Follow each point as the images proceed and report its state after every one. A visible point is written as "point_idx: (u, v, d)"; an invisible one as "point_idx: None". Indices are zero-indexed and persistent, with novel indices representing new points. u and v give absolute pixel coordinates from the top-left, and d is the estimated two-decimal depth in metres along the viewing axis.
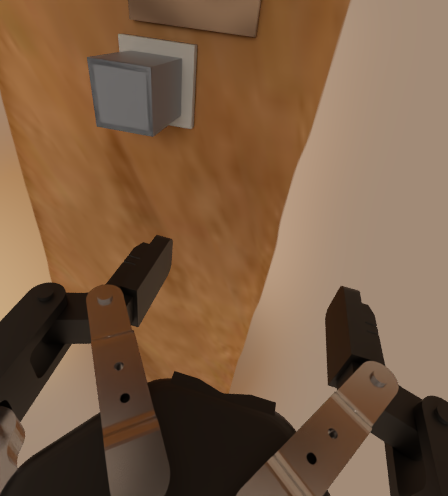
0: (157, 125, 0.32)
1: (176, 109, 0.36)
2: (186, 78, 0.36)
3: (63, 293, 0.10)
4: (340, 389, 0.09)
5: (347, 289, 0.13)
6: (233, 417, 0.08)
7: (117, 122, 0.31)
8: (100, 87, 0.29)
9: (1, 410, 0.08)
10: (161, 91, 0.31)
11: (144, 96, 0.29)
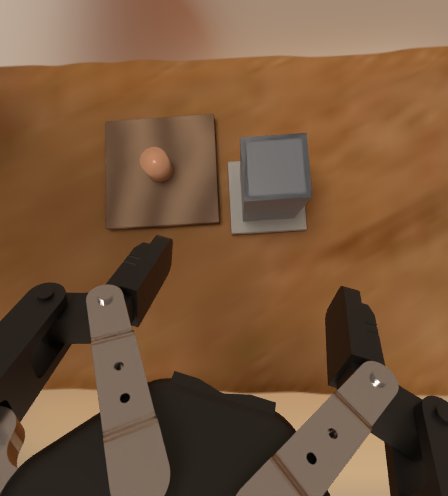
0: None
1: None
2: None
3: (63, 293, 0.10)
4: (340, 389, 0.09)
5: (347, 289, 0.13)
6: (233, 417, 0.08)
7: (301, 172, 0.28)
8: (269, 189, 0.28)
9: (1, 410, 0.08)
10: None
11: (267, 143, 0.29)
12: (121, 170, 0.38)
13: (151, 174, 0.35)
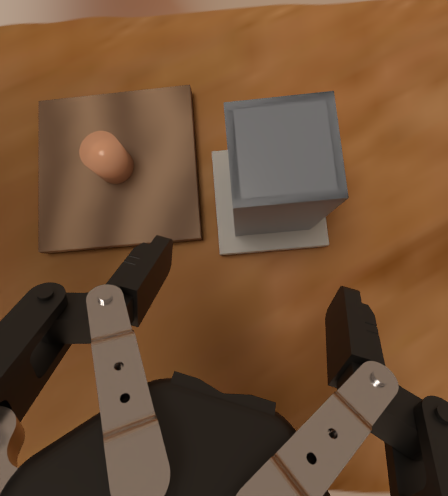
0: None
1: None
2: None
3: (63, 293, 0.10)
4: (340, 389, 0.09)
5: (347, 289, 0.13)
6: (233, 417, 0.08)
7: (328, 156, 0.17)
8: (275, 186, 0.17)
9: (1, 410, 0.08)
10: None
11: (269, 109, 0.17)
12: (60, 168, 0.27)
13: (97, 171, 0.24)
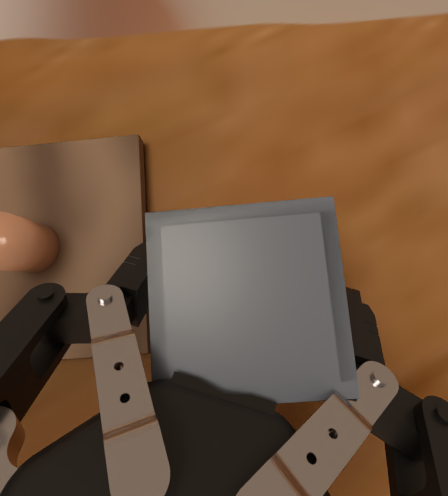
0: None
1: None
2: None
3: (63, 293, 0.10)
4: None
5: (347, 289, 0.13)
6: (233, 417, 0.08)
7: (323, 317, 0.09)
8: (228, 372, 0.09)
9: (1, 410, 0.08)
10: None
11: (222, 228, 0.10)
12: None
13: None
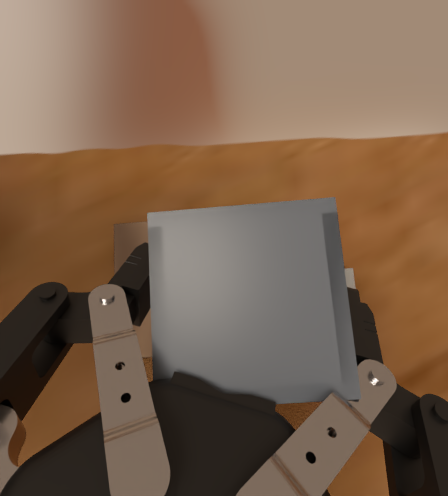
0: None
1: None
2: None
3: (65, 293, 0.10)
4: None
5: None
6: (233, 417, 0.08)
7: (325, 318, 0.09)
8: (230, 372, 0.09)
9: (2, 409, 0.08)
10: None
11: (224, 228, 0.10)
12: None
13: None
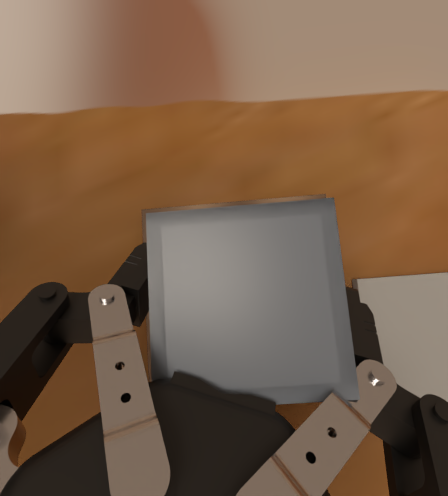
0: None
1: None
2: (406, 287, 0.22)
3: (65, 293, 0.10)
4: None
5: (346, 288, 0.13)
6: (233, 417, 0.08)
7: (323, 318, 0.09)
8: (228, 372, 0.09)
9: (2, 409, 0.08)
10: None
11: (223, 228, 0.10)
12: None
13: None
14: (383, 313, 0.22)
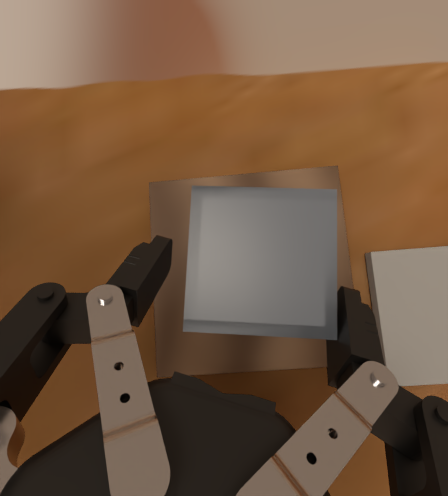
0: None
1: None
2: (422, 260, 0.21)
3: (63, 293, 0.10)
4: (340, 389, 0.09)
5: (347, 289, 0.13)
6: (233, 417, 0.08)
7: (317, 278, 0.12)
8: (242, 310, 0.12)
9: (1, 410, 0.08)
10: None
11: (249, 203, 0.13)
12: (180, 269, 0.22)
13: None
14: (398, 286, 0.21)
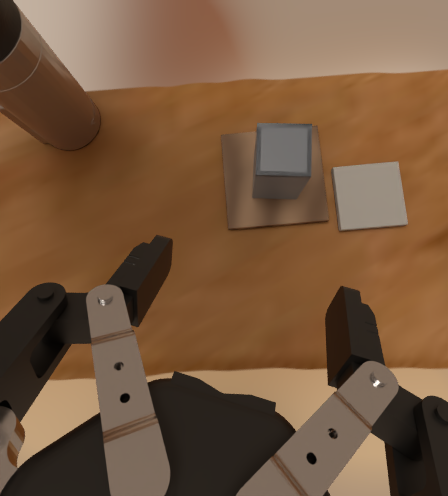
0: None
1: None
2: (358, 170, 0.43)
3: (63, 293, 0.10)
4: (340, 389, 0.09)
5: (347, 289, 0.13)
6: (233, 417, 0.08)
7: (304, 155, 0.34)
8: (277, 167, 0.34)
9: (1, 410, 0.08)
10: None
11: (279, 129, 0.35)
12: (238, 177, 0.44)
13: None
14: (346, 183, 0.43)
